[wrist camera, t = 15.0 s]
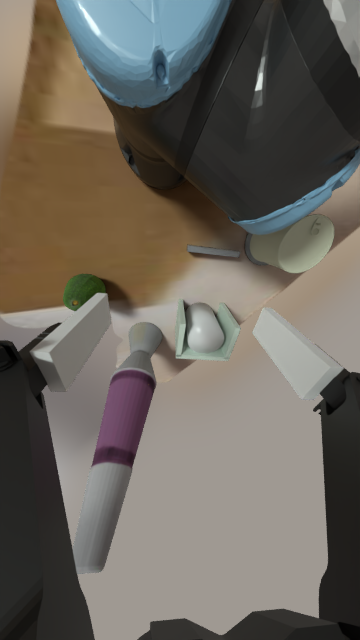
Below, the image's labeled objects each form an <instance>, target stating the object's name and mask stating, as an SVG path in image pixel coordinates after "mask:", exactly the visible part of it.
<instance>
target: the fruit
mask: <svg viewBox="0 0 360 640" xmlns="http://www.w3.org/2000/svg"><path fill="white" fill-rule="evenodd" d="M96 293H106V287H105V285H104V283H103V282H102V281H101V280H100V279H99V278H98V277H96V276H94V275H91V274H79V275H77V276H74V277H73V278H71V279H70V280H69V281H68V283H67V285H66V287H65V291H64V296H63V301H64V304H65V306H66V307H68V308H69V309H71V310H73V311H77V310H78V309H79V308H80V307H81V306H83V305H84V304H85V303H86V302H87V301H88V300H89V299H91V298H92V297H93V296H94V295H95V294H96Z"/></svg>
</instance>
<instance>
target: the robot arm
mask: <svg viewBox="0 0 360 640" xmlns="http://www.w3.org/2000/svg"><path fill="white" fill-rule="evenodd" d="M56 2H57V5H58V7H59V10H60V12H61V15H62V17H63V20H64V22H65V24H66V26H67V29H68V31H69V33H70V36H71V38H72V41H73V44H74V46H75V49H76V51H77V54H78V56H79V58H80V60H81V61H82V64H83V66H84V68H85V70H87V72H88V75H89V77H90V78H91V79H92V81H93V82H94V83H95V84H96V86H97V88H98V90H99V92H100V93H101V95H102V97H103V99H104V101H105V102H106V104H107V106H108V108H109V109H110V111H111V113H112V115H113V118H114V126H115V132H116V136H117V140H118V143H119V146H120V149H121V151H122V154H123V156H124V158H125V160H126V161H127V163H128V165H129V166H130V168H131V169H132V170H133V172H134V173H135V174H136V175H137V176H138V177H139V178H140V179H141V180H142V181H143V182H144V183H146V184H147V185H149V186H151V187H154V188H157V189H172V188H175V187H177V186H179V185H181V184H182V183H184V182H185V181H186V180H188V181H189V182H190V183H191V184H192V185H193V186H195V187H196V188H197V189H198V190H199V191H200V192H201V193H203V194H204V195H205V196H206V197H207V198H208V199H209V200H211V201H212V202H213V203H214V204H215V205H216V206H217V207H219V208H220V209H221V210H222V211H223V212H224V213H225V214H227V215H228V218H229V219H230V220H231V221H232V222H233V223H236V224H238V225H240V226H241V227H242V228H244V229H245V230H246V231H247V232H249V233H251V234H256V235H265V234H270V233H274V232H277V231H279V230H282V229H284V228H286V227H288V226H290V225H292V224H294V223H296V222H297V221H299V220H301V219H302V218H304V217H305V216H307V215H308V214H310V213H311V212H313V211H314V210H315V209H317V208H318V207H319V206H321V205H322V204H323V203H324V202H325V201H327V200H328V199H329V198H330V197H331V195H332V191H333V190H335V189H337V188H339V187H341V186H343V185H344V184H345V182H346V181H347V180H348V179H349V178H350V177H351V176H352V174H353V173H354V172H355V170H356V169H357V167H358V166H359V164H360V0H56ZM110 324H111V317H110V310H109V303H108V296H107V294H105V293H96V294H95V295H94V296H93V297H92V298H91V299H89V300H88V301H87V302H86V303H85V304H84V305H83V306H81V307H80V308H79V309H78V310H77V311H76V312H74V313H73V314H72V315H71V316H70V317H69V318H68V319H66V320H65V321H64V322H63V323H57V324H55V325H52V326H50V327H49V328H47V329H46V330H45V331H44V332H43V333H42V334H40V335H39V336H38V337H37V338H35V339H34V340H32V341H31V342H30V343H29V344H28V345H26V346H25V347H24V348H23V349H21V350H20V351H19V352H18V351H17V349H16V347H15V346H14V344H13V343H12V342H10V341H0V640H95V639H94V634H93V629H92V624H91V619H90V615H89V610H88V606H87V603H86V600H85V597H84V595H83V592H82V590H81V588H80V584H79V581H78V576H77V571H76V566H75V560H74V555H73V550H72V545H71V539H70V534H69V529H68V523H67V518H66V512H65V507H64V502H63V496H62V491H61V486H60V480H59V475H58V470H57V464H56V459H55V454H54V448H53V443H52V438H51V432H50V427H49V422H48V416H47V411H46V406H45V401H44V395H43V393H42V392H41V391H42V390H43V389H44V387H45V386H46V385H48V387H49V389H50V391H51V392H67V391H68V389H69V388H70V386H71V384H72V383H73V382H74V380H75V378H76V377H77V375H78V374H79V372H80V371H81V369H82V368H83V366H84V365H85V363H86V361H87V360H88V358H89V357H90V355H91V354H92V352H93V351H94V349H95V347H96V346H97V344H98V343H99V341H100V340H101V338H102V337H103V335H104V334H105V332H106V331H107V329H108V327H109V326H110ZM252 333H253V335H254V336H255V337H256V339H257V340H258V342H259V343H260V344H261V346H262V347H263V348H264V350H265V351H266V352H267V354H268V355H269V356H270V358H271V359H272V361H273V362H274V363H275V364H276V366H277V367H278V369H279V370H280V371H281V373H282V374H283V375H284V377H285V378H286V379H287V381H288V382H289V383H290V385H291V386H292V388H293V389H294V390H295V391H296V393H297V394H298V396H299V397H300V398H301V399H302V400H314V399H315V398H316V397H317V396H318V395H319V394H320V395H321V396H322V397H323V398H324V399H323V400H322V401H321V402H320V403H319V404H318V405H317V406H316V407H315V408H314V409H313V411H314V412H316V411H317V410H318V409H320V410H321V412H320V413H319V414H320V415H321V424H322V444H323V464H324V483H325V504H326V523H327V543H328V566H327V570H326V572H325V574H324V575H323V577H322V579H321V583H320V587H319V618H315V617H312V616H308V615H304V614H301V613H297V612H293V611H290V610H286V609H276V610H265V611H255V612H252V613H250V614H249V615H248V616H247V617H245V618H244V619H243V620H242V621H240V622H239V623H238V624H237V625H236V626H234V627H233V628H232V629H231V630H229V631H228V632H227V633H226V634H224V635H218V634H216V633H214V632H212V631H210V630H208V629H206V628H204V627H201V626H200V625H198V624H195V623H193V622H191V621H189V620H187V619H185V618H184V619H173V620H163V621H153V622H151V623H150V630H149V631H148V632H147V633H145V634H144V635H142V636H141V637H140V638H139V639H138V640H360V373H356V372H351V373H350V372H348V371H347V370H346V369H345V368H343V367H342V366H341V365H340V364H339V363H338V362H336V361H335V360H334V359H333V358H332V357H330V356H329V355H328V354H326V353H325V352H324V351H323V350H322V349H320V348H319V347H318V346H317V345H316V344H314V343H313V342H312V341H310V340H309V339H308V338H307V337H306V336H304V335H303V334H302V333H301V332H300V331H298V330H297V329H296V328H294V326H292V325H291V324H290V323H289V322H288V321H286V320H285V319H284V318H283V317H282V316H280V315H279V314H278V313H277V312H276V311H274V310H273V309H272V308H263V310H262V312H261V314H260V317H259V319H258V321H257V324H256V326H255V328H254V330H253V332H252Z"/></svg>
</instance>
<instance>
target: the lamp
mask: <svg viewBox="0 0 360 640" xmlns="http://www.w3.org/2000/svg"><path fill="white" fill-rule="evenodd" d="M161 341H162V333H161V331H160V329H159V328H158V327H156V326H155V325H153V324H150V323H146V322H145V323H138V324H135V325H134V326H133V327H132V328H131V329H130V331H129V342H130V352H131V355H130V356H129V357H128V358H127V359H126V360H125V361H124V362H123V364H122V365H121V366H120V367H119V368H118V369H117V370H116V371H115V372H114V373H113V375H112V376H111V380H110V381H111V383H110V387H109V392H108V396H107V401H106V405H105V410H104V415H103V418H102V423H101V427H100V432H99V436H98V441H97V445H96V450H95V454H94V459H93V464H92V466H91V468H90V472H89V476H88V481H87V486H86V490H85V495H84V500H83V504H82V509H81V513H80V518H79V523H78V528H77V532H76V537H75V541H74V546H73V555H74V560H75V566H76V571H77V574H83V573H97V572H101V571H102V570H103V568H104V566H105V563H106V559H107V556H108V552H109V549H110V546H111V542H112V539H113V535H114V532H115V528H116V525H117V522H118V518H119V515H120V511H121V508H122V504H123V501H124V498H125V494H126V491H127V487H128V484H129V480H130V477H131V473H132V466H133V463H134V459H135V456H136V452H137V449H138V445H139V442H140V438H141V435H142V431H143V428H144V424H145V420H146V417H147V414H148V410H149V407H150V403H151V400H152V396H153V393H154V389H155V387H156V379H155V375H154V371H153V367H152V364H151V360H150V358H151V356H152V355H153V353H154V352H155V350H156V349H157V347H158V346H159V344H160V343H161Z"/></svg>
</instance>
